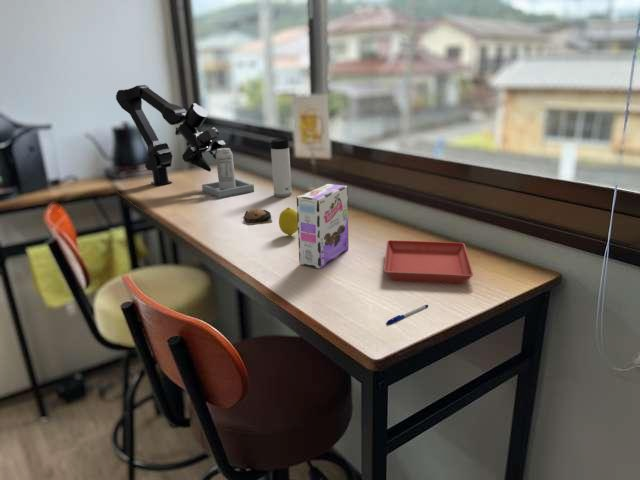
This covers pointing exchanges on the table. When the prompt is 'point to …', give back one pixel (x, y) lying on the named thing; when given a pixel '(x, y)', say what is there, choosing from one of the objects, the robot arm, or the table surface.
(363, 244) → the table surface
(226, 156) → the energy drink can
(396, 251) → the plant saucer
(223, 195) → the tray
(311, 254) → the candy box
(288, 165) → the travel mug
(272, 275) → the table surface
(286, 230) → the lemon
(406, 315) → the ballpoint pen
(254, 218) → the abalone
